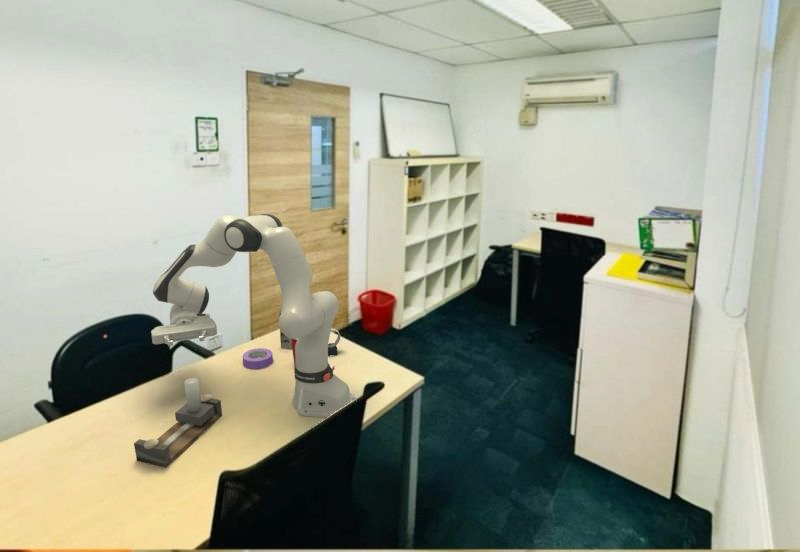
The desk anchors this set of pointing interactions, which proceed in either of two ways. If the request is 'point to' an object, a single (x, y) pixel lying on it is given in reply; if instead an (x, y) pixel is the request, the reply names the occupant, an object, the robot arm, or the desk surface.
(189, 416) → the carriage
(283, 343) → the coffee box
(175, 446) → the rail
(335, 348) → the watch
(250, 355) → the masking tape
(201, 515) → the desk surface
